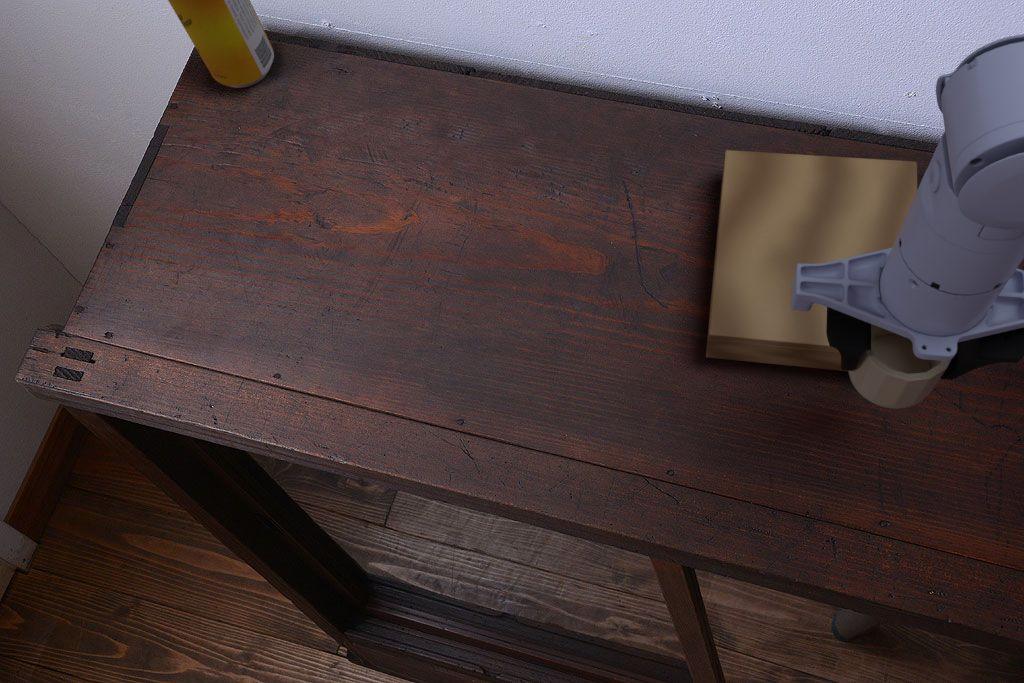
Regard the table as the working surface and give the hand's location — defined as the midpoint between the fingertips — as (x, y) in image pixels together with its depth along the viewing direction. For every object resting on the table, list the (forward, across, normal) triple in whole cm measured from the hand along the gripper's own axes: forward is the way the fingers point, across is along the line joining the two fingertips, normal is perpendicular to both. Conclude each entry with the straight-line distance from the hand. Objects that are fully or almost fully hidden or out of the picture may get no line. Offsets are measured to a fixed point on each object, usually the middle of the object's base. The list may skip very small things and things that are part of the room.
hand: (895, 360), depth 61 cm
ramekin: (+1, 0, 0) cm, 1 cm away
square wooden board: (+8, -4, +11) cm, 14 cm away
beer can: (+9, -55, +28) cm, 63 cm away
